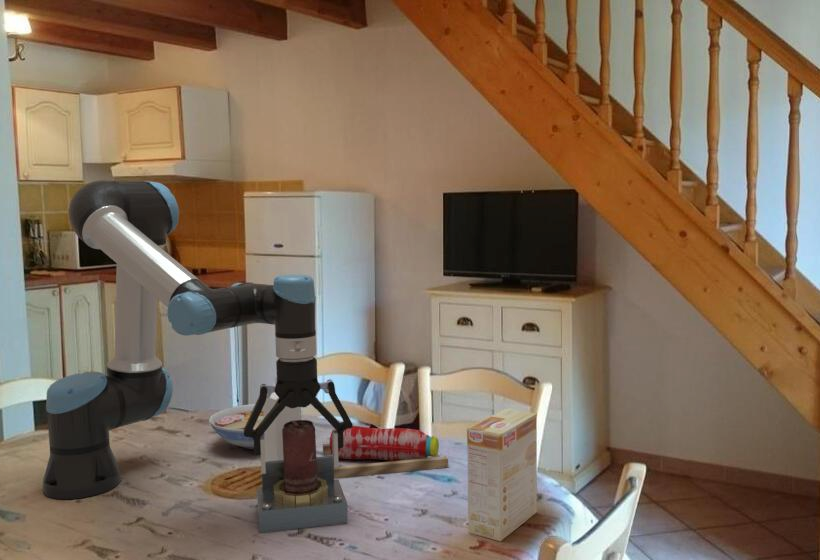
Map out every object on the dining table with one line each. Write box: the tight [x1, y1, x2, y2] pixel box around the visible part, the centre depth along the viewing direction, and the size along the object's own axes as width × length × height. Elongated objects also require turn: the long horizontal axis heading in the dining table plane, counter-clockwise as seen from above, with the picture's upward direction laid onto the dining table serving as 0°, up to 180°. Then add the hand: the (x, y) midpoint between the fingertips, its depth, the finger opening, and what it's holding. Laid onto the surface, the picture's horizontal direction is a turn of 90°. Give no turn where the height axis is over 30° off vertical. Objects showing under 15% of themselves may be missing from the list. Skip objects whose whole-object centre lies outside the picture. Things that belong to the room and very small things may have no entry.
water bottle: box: [329, 423, 440, 462], centre depth 174 cm, size 12×8×25 cm
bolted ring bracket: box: [256, 455, 348, 534], centre depth 143 cm, size 16×12×9 cm
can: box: [282, 419, 318, 494], centre depth 141 cm, size 6×6×14 cm
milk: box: [263, 377, 302, 462], centre depth 160 cm, size 6×6×22 cm
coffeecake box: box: [466, 407, 538, 542], centre depth 137 cm, size 15×7×20 cm, turn 145°
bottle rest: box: [322, 434, 449, 479], centre depth 173 cm, size 26×18×2 cm
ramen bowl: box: [208, 403, 304, 450], centre depth 185 cm, size 25×23×8 cm
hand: (299, 468), depth 142 cm, fingers open, 13 cm apart
